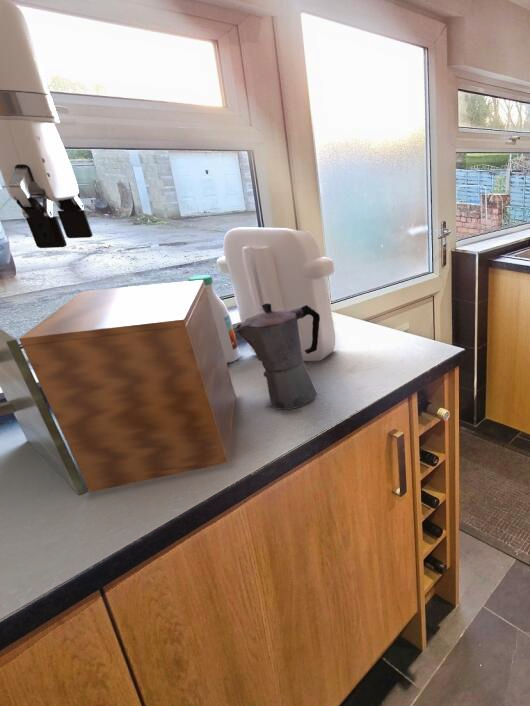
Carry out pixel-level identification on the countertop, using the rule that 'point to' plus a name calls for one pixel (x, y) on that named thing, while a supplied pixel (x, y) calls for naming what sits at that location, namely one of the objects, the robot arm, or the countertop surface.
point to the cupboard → (136, 381)
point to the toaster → (280, 279)
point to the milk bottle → (221, 320)
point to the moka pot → (282, 353)
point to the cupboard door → (33, 411)
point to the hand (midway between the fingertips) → (67, 242)
